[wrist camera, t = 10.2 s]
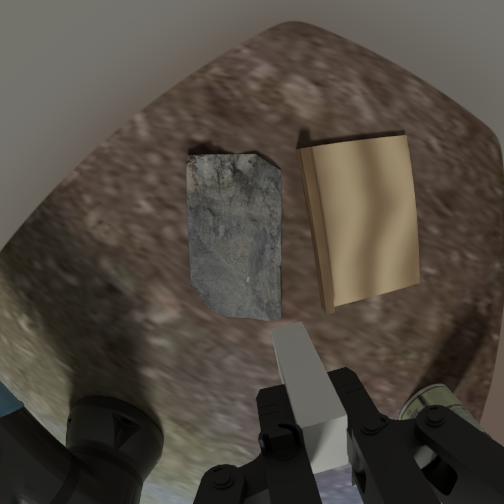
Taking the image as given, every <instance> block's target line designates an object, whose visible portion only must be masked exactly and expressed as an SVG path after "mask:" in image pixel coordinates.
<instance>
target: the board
mask: <svg viewBox="0 0 504 504" xmlns="http://www.w3.org/2000/svg"><path fill="white" fill-rule="evenodd" d="M296 151H297V157H298V162H299V167H300V172H301V178H302V183H303V189H304V194H305V200H306V206H307V211H308V217H309V223H310V229H311V236H312V242H313V248H314V255H315V262H316V268H317V275H318V283H319V290H320V297H321V305H322V308H323V310H324V312H325V313H326V315H327V314H331V313H335V309H334V307H335V306H338V305H342V304H346V303H350V302H354V301H358V300H362V299H365V298H369V297H373V296H376V295H380V294H383V293H387V292H391V291H394V290H398V289H401V288H404V287H408V286H411V285H415V284H418V283H420V279H419V246H418V229H417V215H416V204H415V194H414V185H413V177H412V169H411V162H410V155H409V149H408V143H407V137H406V135H402V136H391V137H382V138H373V139H364V140H356V141H348V142H341V143H334V144H327V145H320V146H314V147H306V148H300V149H296Z"/></svg>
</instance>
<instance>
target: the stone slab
mask: <svg viewBox="0 0 504 504" xmlns="http://www.w3.org/2000/svg"><path fill="white" fill-rule="evenodd" d="M186 164H187V212H188V238H189V259H190V275H191V285H192V286H193V288H194V290H195V291H196V292H197V293H198V294H199V295H200V296H201V298H202V299H203V300H204V302H205V304H206V306H207V307H208V308H209V309H210V310H212V311H213V312H215V313H219V314H223V315H225V316H226V317H241V318H255V319H259V320H265V321H274V320H281V278H280V266H281V223H282V209H281V170H279V169H278V168H276V167H275V166H273V165H271V164H270V163H268V162H267V161H265V160H264V159H262V158H261V157H259V156H258V155H256V154H202V155H187V156H186Z"/></svg>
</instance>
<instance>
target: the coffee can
mask: <svg viewBox="0 0 504 504" xmlns="http://www.w3.org/2000/svg"><path fill="white" fill-rule="evenodd" d="M430 405H443V406H445V407H447V408H449V409H451V410H452V411H453V412H455V413H456V414H458V415H459V416H460V417H462V418H463V419H465V420H466V421H467V422H469V423H470V424H472V425H473V426H475V427H476V428H477V429H479V430H480V431H482V432H483V433H484V434H486V435H487V436H489V437H490V438H491V436H490V435H489V434H487V433H486V432H485V431H484V430H483V428H482V427H481V426H480V425H479V423H478V422H477V421H476V420H475V419H474V418H473V416H472V415H471V414H470V413H469V412H468V411H467V409H466V408H465V407H464V406H463V405H462V404H461V403H460V401H459V400H458V399H457V398H456V397H455V396H454V395H453V393H452V392H451V391H450V390H449V388H448V387H447V386H446V385H444V384H433V385H429V386H427V387H425V388H423V389H421V390H420V391H418V392H417V393H416V394H414V395H413V396H412V397H411V398H410V399H409V400H408V401H407V403H406V404H405V405H404V407H403V408H402V410H401V412H400V415H399V420H404V419H412V418H416V417H417V414H418V413H419V412H420V411H421V410H422V409H423V408H425V407H427V406H430Z"/></svg>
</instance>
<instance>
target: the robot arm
mask: <svg viewBox="0 0 504 504" xmlns="http://www.w3.org/2000/svg"><path fill="white" fill-rule="evenodd" d="M270 330H271V335H272V340H273V345H274V349H275V354H276V359H277V364H278V369H279V373H280V377H281V381H282V385H278V386H273V387H269V388H264V389H260V391H259V393H258V395H257V398H256V401H257V408H258V415H259V421H260V428H261V432H260V434H259V438H258V441H259V445H260V448H261V453H260V454H259V456H258V457H257V458H256V459H255V460H253V461H252V462H250V463H248V464H246V465H243V466H241V467H239V468H237V467H236V466H234V465H229V464H223V465H217V466H215V467H212V468H211V469H209V470H208V471H207V472H205V474H204V476H203V477H202V479H201V482H200V485H199V488H198V491H197V494H196V497H195V500H194V502H193V504H322V501H321V498H320V495H319V491H318V488H317V484H316V481H315V478H314V473H318V472H322V471H326V470H329V469H333V468H336V467H340V466H343V465H346V464H348V458H349V460H350V462H351V465H352V486H353V485H355V483H356V485H357V488H358V490H359V493H360V495H361V498H362V500H363V503H364V504H441V503H440V502H442V503H443V504H504V447H503V446H502V445H500V444H499V443H497V442H496V441H494V440H493V439H492V438H490V437H489V436H487V435H486V434H484V433H483V432H482V431H480V430H479V429H477V428H476V427H475V426H473V425H472V424H470V423H469V422H467V421H466V420H465V419H463V418H462V417H460V416H459V415H458V414H456V413H455V412H453V411H452V410H451V409H449V408H447V407H445V406H443V405H430V406H427V407H425V408H423V409H422V410H421V411H420V412H419V413H418V414H417V417H416V418H412V419H404V420H393V419H389V418H388V417H387V416H386V415H383V414H381V413H380V412H379V411H378V410H377V408H376V406H375V405H374V403H373V401H372V400H371V398H370V396H369V395H368V393H367V391H366V390H365V389H364V386H363V385H362V383H361V382H360V380H359V378H358V376H357V375H356V373H355V372H353V371H352V370H350V369H349V368H347V367H344V368H341V369H337V370H334V371H330V372H326V370H325V368H324V366H323V364H322V362H321V360H320V358H319V356H318V354H317V352H316V350H315V348H314V346H313V343H312V341H311V339H310V337H309V335H308V333H307V331H306V329H305V327H304V325H303V323H302V321H301V322H297V323H293V324H289V325H285V326H280V327H276V328H272V329H270ZM163 443H164V442H163V436H162V434H161V431H160V430H159V428H158V427H157V425H156V424H155V423H154V422H153V421H152V420H151V419H150V418H149V417H148V416H147V415H145V414H144V413H143V412H141V411H140V410H138V409H137V408H135V407H133V406H131V405H129V404H127V403H125V402H122V401H119V400H116V399H112V398H108V397H99V396H94V397H87V398H84V399H81V400H80V401H78V402H77V403H76V404H75V405H74V407H73V408H72V410H71V412H70V414H69V416H68V420H67V432H66V447H65V446H64V445H63V444H61V443H60V442H59V441H58V440H57V439H56V438H55V437H54V436H53V435H52V434H51V433H50V432H49V431H48V430H47V429H46V428H45V427H44V426H43V425H42V424H41V423H40V422H39V421H38V420H37V419H36V418H35V417H34V416H33V415H32V414H31V413H30V412H29V411H28V410H27V409H26V408H25V407H24V403H23V402H22V401H19V400H18V399H17V398H16V397H15V396H14V395H13V394H12V393H11V392H10V391H9V390H8V389H7V387H6V386H5V385H4V384H3V383H2V382H1V381H0V504H139V503H140V497H141V491H142V487H143V482H144V481H145V479H146V478H147V477H148V475H149V474H150V472H151V471H152V469H153V468H154V466H155V465H156V464H157V463H158V462H159V460H160V458H161V455H162V450H163Z"/></svg>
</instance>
